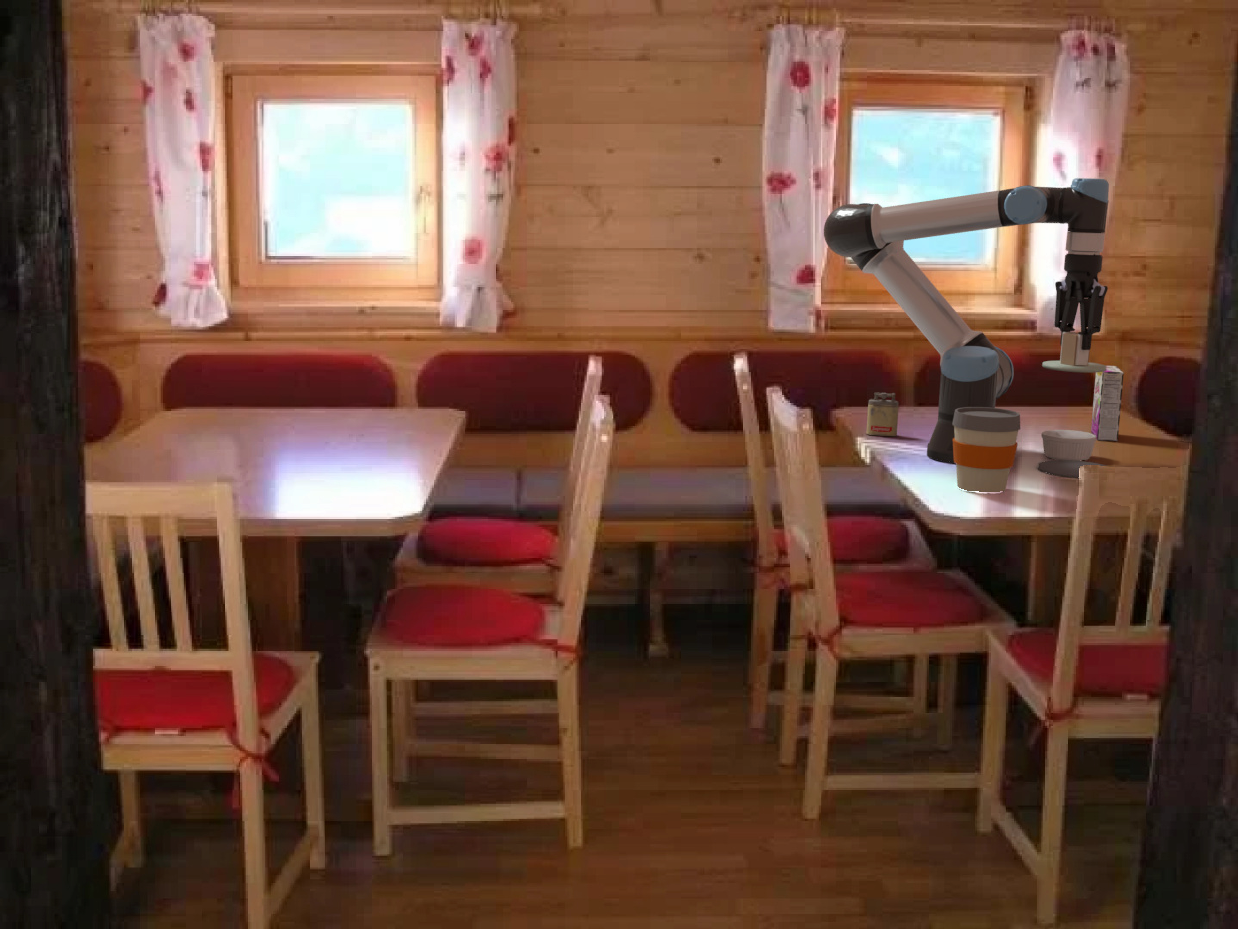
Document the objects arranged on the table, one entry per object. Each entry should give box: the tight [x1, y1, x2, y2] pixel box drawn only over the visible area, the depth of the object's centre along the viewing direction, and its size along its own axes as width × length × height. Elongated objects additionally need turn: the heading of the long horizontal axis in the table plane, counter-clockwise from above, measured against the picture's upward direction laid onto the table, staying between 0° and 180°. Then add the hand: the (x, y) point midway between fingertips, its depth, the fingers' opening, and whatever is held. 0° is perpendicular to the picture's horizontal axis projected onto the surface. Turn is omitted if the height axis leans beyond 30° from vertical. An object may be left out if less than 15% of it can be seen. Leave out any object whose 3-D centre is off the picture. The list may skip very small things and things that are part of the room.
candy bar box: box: [1090, 365, 1125, 442], centre depth 317 cm, size 11×5×16 cm, turn 168°
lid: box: [1041, 332, 1107, 373], centre depth 288 cm, size 13×13×7 cm
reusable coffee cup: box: [952, 407, 1021, 492], centre depth 258 cm, size 13×13×15 cm
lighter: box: [865, 392, 900, 437], centre depth 314 cm, size 7×4×10 cm, turn 76°
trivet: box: [1037, 459, 1107, 479], centre depth 278 cm, size 15×15×1 cm
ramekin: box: [1041, 429, 1097, 461], centre depth 292 cm, size 11×11×5 cm
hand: (1073, 363), depth 288 cm, fingers closed on lid, 4 cm apart
